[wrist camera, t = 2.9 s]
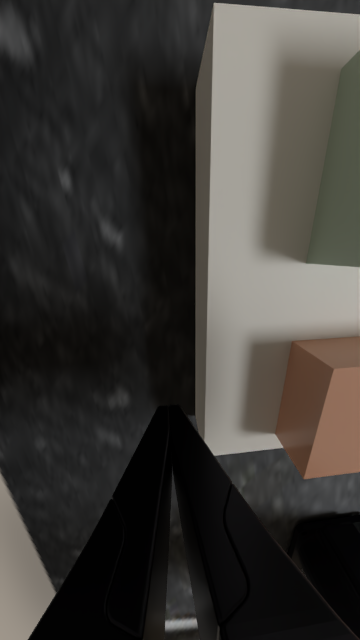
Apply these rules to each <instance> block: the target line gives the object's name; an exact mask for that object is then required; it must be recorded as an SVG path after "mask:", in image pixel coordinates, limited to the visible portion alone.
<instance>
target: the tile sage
mask: <svg viewBox="0 0 360 640" xmlns="http://www.w3.org/2000/svg"><path fill="white" fill-rule="evenodd" d="M306 264H320V265H334V266H349V267H360V50H359V51H358V52H357V53H356V54H355V55H354V56H353V57H352V58H351V59H350V60H349V61H348V62H347V63H346V64H345V66H344V67H343V68H342V69H341V73H340V79H339V84H338V90H337V95H336V101H335V106H334V112H333V117H332V123H331V128H330V134H329V139H328V145H327V150H326V156H325V161H324V167H323V172H322V178H321V184H320V189H319V195H318V200H317V206H316V211H315V217H314V222H313V228H312V233H311V239H310V244H309V250H308V255H307V261H306Z"/></svg>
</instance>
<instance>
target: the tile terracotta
mask: <svg viewBox="0 0 360 640" xmlns="http://www.w3.org/2000/svg"><path fill="white" fill-rule="evenodd" d="M275 435H276V436H277V438H278V439H279V441H280V443H281V444H282V446H283V447H284V449H285V450H286V452H287V454H288V455H289V457H290V458H291V460H292V461H293V463H294V465H295V466H296V468H297V469H298V471H299V473H300V474H301V476H302V477H303V479H309V478H317V477H324V476H332V475H340V474H347V473H355V472H360V336H358V337H343V338H328V339H314V340H299V341H292V344H291V349H290V355H289V360H288V366H287V371H286V377H285V382H284V388H283V393H282V399H281V404H280V410H279V415H278V421H277V426H276V432H275Z"/></svg>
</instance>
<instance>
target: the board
mask: <svg viewBox="0 0 360 640" xmlns="http://www.w3.org/2000/svg"><path fill="white" fill-rule="evenodd" d="M359 50H360V15H358V14H346V13H333V12H321V11H309V10H296V9H284V8H272V7H259V6H247V5H235V4H222V3H214V5H213V10H212V14H211V19H210V24H209V28H208V33H207V38H206V42H205V47H204V52H203V56H202V61H201V66H200V71H199V75H198V80H197V85H196V311H195V417H196V421H197V426H198V431H199V434H200V435H201V437H202V438H203V440H204V441H205V443H206V444H207V446H208V447H209V449H210V450H211V452H212V453H213V455H214V456H216V455H224V454H233V453H242V452H250V451H259V450H268V449H276V448H284V447H283V446H282V444H281V443H280V441H279V439H278V438H277V436H276V435H275V432H276V426H277V421H278V415H279V410H280V404H281V399H282V393H283V388H284V382H285V377H286V371H287V366H288V360H289V355H290V349H291V344H292V341H299V340H314V339H328V338H343V337H358V336H360V267H349V266H334V265H320V264H306V261H307V255H308V250H309V244H310V239H311V233H312V228H313V222H314V217H315V211H316V206H317V200H318V195H319V189H320V184H321V178H322V172H323V167H324V161H325V156H326V150H327V145H328V139H329V134H330V128H331V123H332V117H333V112H334V106H335V101H336V95H337V90H338V84H339V79H340V73H341V69H342V68H343V67H344V66H345V64H346V63H347V62H348V61H349V60H350V59H351V58H352V57H353V56H354V55H355V54H356V53H357V52H358V51H359Z"/></svg>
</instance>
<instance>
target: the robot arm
mask: <svg viewBox="0 0 360 640" xmlns="http://www.w3.org/2000/svg"><path fill="white" fill-rule="evenodd" d="M169 416H170V418H169ZM170 434H171V436H170ZM171 452H172V454H171ZM172 467H173V476H174V482H175V489H176V495H177V501H178V507H179V513H180V519H181V526H182V532H183V538H184V544H185V550H186V556H187V562H188V569H189V575H190V581H191V587H192V593H193V599H194V605H195V612H196V618H197V624H198V630H199V636H200V640H360V515H357V516H350V517H344V518H337V519H330V520H324V521H317V522H311V523H304V524H300V525H298V526H297V527H296V529H295V532H294V536H293V539H292V543H291V546H290V550H289V553H288V555H287V553H286V552H285V551H284V550H283V549H282V547H281V546H280V545H279V544H278V543H277V541H276V540H275V539H274V538H273V536H272V535H271V534H270V533H269V531H268V530H267V529H266V528H265V526H264V525H263V524H262V523H261V521H260V520H259V519H258V517H257V516H256V515H255V513H254V512H253V511H252V509H251V508H250V506H249V505H248V504H247V502H246V501H245V500H244V498H243V497H242V495H241V494H240V492H239V491H238V489H237V488H236V487H235V485H234V484H232V481H231V479H230V478H229V476H228V475H227V474H226V472H225V471H224V469H223V468H222V466H221V465H220V463H219V462H218V460H217V459H216V457H215V456H214V455H213V453H212V452H211V450H210V449H209V447H208V446H207V444H206V443H205V441H204V440H203V438H202V437H201V435H200V434H199V433H198V431H197V430H196V428H195V427H194V425H193V424H192V422H191V421H190V419H189V418H188V416H187V415H186V413H185V412H184V411H183V409H182V408H181V406H180V405H178V404H177V405H170V406H167V405H166V406H159V407H158V408H157V410H156V412H155V414H154V416H153V418H152V420H151V421H150V423H149V425H148V427H147V429H146V431H145V433H144V435H143V437H142V439H141V441H140V443H139V445H138V447H137V449H136V451H135V453H134V455H133V457H132V458H131V460H130V462H129V464H128V466H127V468H126V470H125V472H124V474H123V476H122V478H121V480H120V482H119V484H118V486H117V488H116V490H115V492H114V493H113V495H112V499H111V500H110V501H109V503H108V505H107V507H106V509H105V511H104V513H103V515H102V517H101V518H100V520H99V522H98V524H97V526H96V528H95V529H94V531H93V533H92V535H91V537H90V539H89V540H88V542H87V544H86V546H85V547H84V549H83V551H82V552H81V554H80V556H79V557H78V559H77V561H76V562H75V564H74V566H73V567H72V569H71V571H70V572H69V574H68V576H67V577H66V579H65V580H64V582H63V584H62V585H61V587H60V589H59V590H58V592H57V593H56V595H55V597H54V598H53V600H52V601H51V603H50V605H49V606H48V608H47V610H46V611H45V613H44V614H43V616H42V618H41V619H40V621H39V622H38V624H37V626H36V627H35V629H34V631H33V632H32V634H31V635H30V637H29V639H28V640H164V634H165V613H166V593H167V572H168V551H169V531H170V510H171V490H172ZM300 569H303V570H304V572H305V575H306V576H305V575H304V574H303V573H302V572H301V570H300ZM306 577H307V578H306Z"/></svg>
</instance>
